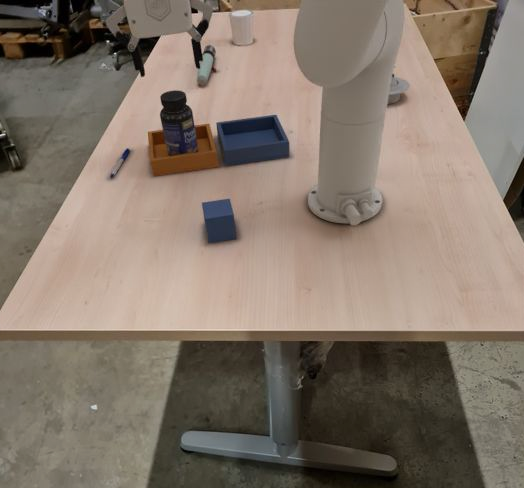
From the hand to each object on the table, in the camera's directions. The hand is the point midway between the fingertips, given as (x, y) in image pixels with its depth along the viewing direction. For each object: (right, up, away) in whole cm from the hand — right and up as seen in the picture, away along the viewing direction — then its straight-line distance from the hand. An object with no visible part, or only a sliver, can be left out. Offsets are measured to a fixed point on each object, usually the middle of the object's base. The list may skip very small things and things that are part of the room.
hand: (170, 70), depth 83 cm
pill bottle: (0, -10, +12) cm, 16 cm away
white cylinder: (+11, +39, +54) cm, 67 cm away
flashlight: (+2, +23, +40) cm, 46 cm away
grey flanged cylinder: (+44, +8, +25) cm, 51 cm away
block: (+9, -29, -4) cm, 31 cm away
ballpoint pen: (-12, -12, +12) cm, 21 cm away
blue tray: (+14, -8, +14) cm, 21 cm away
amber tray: (0, -10, +12) cm, 16 cm away
